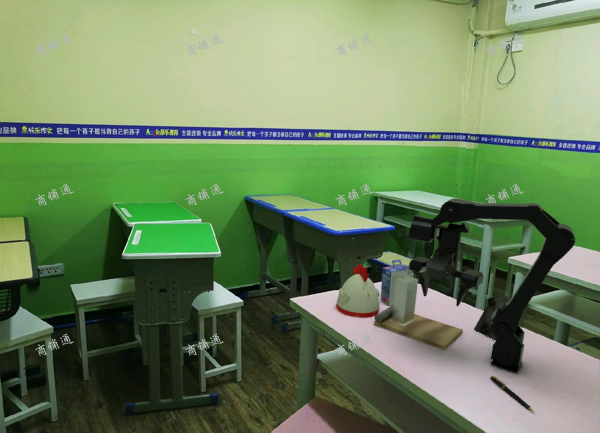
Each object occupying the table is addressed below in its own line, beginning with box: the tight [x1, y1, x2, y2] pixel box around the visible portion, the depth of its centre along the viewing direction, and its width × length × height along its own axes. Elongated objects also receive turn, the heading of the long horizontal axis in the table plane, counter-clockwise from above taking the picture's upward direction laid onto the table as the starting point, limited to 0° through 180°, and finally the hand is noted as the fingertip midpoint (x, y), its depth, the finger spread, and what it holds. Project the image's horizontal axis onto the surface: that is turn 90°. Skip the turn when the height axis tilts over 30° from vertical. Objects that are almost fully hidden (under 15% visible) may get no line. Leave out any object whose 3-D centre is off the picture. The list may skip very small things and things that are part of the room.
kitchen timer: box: [335, 264, 381, 319], centre depth 147 cm, size 14×14×15 cm
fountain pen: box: [489, 375, 535, 412], centre depth 105 cm, size 14×1×2 cm, turn 17°
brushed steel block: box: [392, 276, 419, 325], centre depth 138 cm, size 5×6×13 cm
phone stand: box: [473, 294, 510, 341], centre depth 134 cm, size 9×6×12 cm, turn 32°
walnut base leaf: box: [373, 305, 464, 351], centre depth 136 cm, size 22×14×4 cm, turn 51°
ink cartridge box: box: [380, 259, 415, 307], centre depth 155 cm, size 10×6×14 cm, turn 116°
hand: (440, 300), depth 124 cm, fingers open, 9 cm apart
